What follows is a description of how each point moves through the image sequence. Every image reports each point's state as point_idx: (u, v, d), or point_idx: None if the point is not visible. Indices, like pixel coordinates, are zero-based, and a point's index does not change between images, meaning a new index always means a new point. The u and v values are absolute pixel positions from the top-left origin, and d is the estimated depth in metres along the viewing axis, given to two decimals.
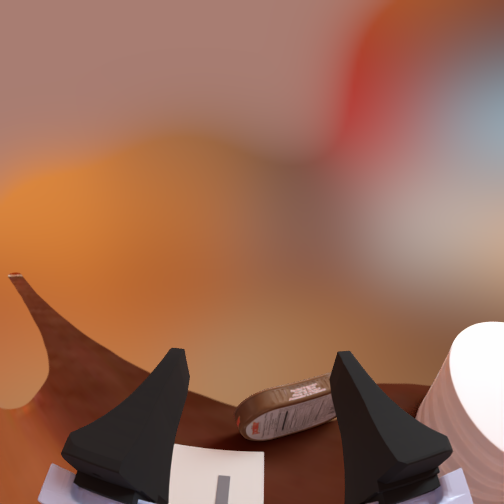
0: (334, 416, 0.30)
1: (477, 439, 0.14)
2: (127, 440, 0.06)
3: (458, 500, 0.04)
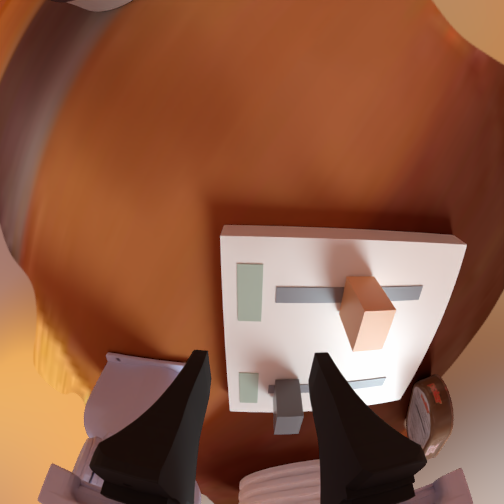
0: (407, 424, 0.28)
1: None
2: (161, 448, 0.06)
3: (458, 500, 0.04)
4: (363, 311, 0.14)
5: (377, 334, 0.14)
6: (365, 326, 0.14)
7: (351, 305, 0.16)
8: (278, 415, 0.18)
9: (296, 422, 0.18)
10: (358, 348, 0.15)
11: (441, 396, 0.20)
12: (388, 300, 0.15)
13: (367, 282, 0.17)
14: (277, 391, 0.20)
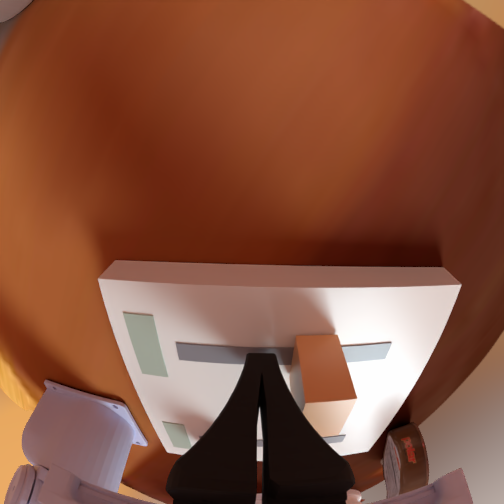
0: (383, 465, 0.23)
1: None
2: (247, 457, 0.06)
3: (458, 500, 0.04)
4: (304, 401, 0.09)
5: (329, 423, 0.10)
6: (308, 417, 0.09)
7: (297, 379, 0.11)
8: None
9: None
10: None
11: (416, 454, 0.15)
12: (349, 380, 0.10)
13: (324, 346, 0.12)
14: None
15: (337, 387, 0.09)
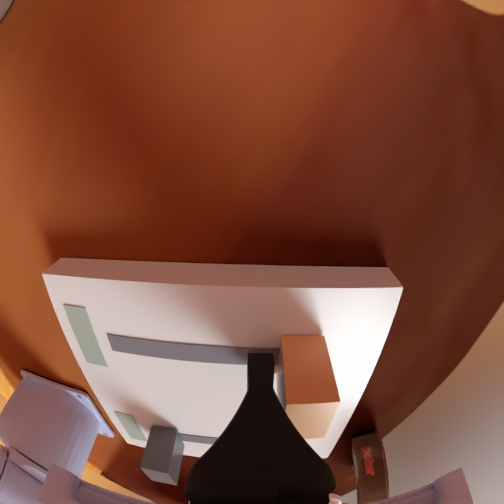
0: (354, 471, 0.23)
1: None
2: (265, 457, 0.06)
3: (458, 500, 0.04)
4: (285, 403, 0.09)
5: (313, 425, 0.09)
6: (291, 418, 0.09)
7: (281, 380, 0.11)
8: (141, 466, 0.13)
9: (165, 476, 0.13)
10: None
11: (375, 466, 0.15)
12: (333, 383, 0.10)
13: (310, 347, 0.12)
14: (149, 439, 0.15)
15: (320, 389, 0.09)
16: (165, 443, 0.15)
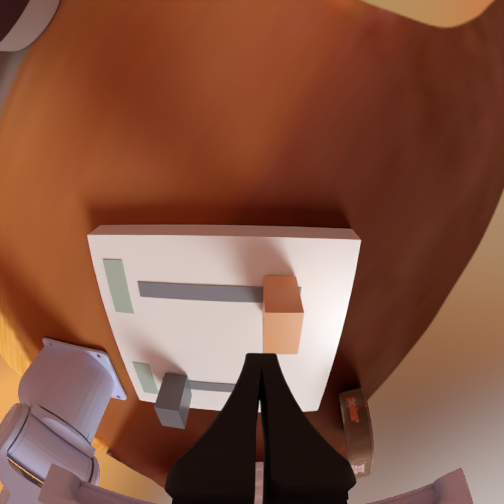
0: None
1: None
2: (246, 457, 0.06)
3: (458, 500, 0.04)
4: (264, 312, 0.14)
5: (287, 338, 0.15)
6: (269, 328, 0.14)
7: None
8: (155, 406, 0.18)
9: (175, 416, 0.19)
10: (268, 351, 0.15)
11: (359, 413, 0.20)
12: (299, 302, 0.15)
13: (284, 282, 0.17)
14: (162, 383, 0.20)
15: (289, 305, 0.14)
16: (176, 386, 0.20)
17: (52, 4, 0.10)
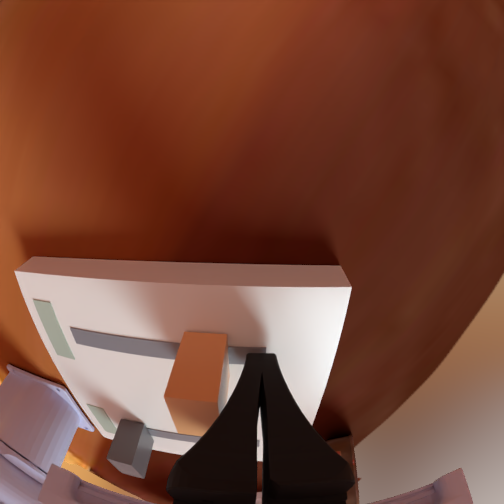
0: None
1: None
2: (247, 457, 0.06)
3: (458, 500, 0.04)
4: (164, 395, 0.09)
5: (202, 423, 0.10)
6: (176, 412, 0.09)
7: None
8: (108, 457, 0.13)
9: (131, 468, 0.13)
10: (184, 432, 0.10)
11: None
12: (216, 382, 0.10)
13: (207, 344, 0.12)
14: (117, 431, 0.15)
15: (201, 387, 0.09)
16: (131, 436, 0.15)
17: None
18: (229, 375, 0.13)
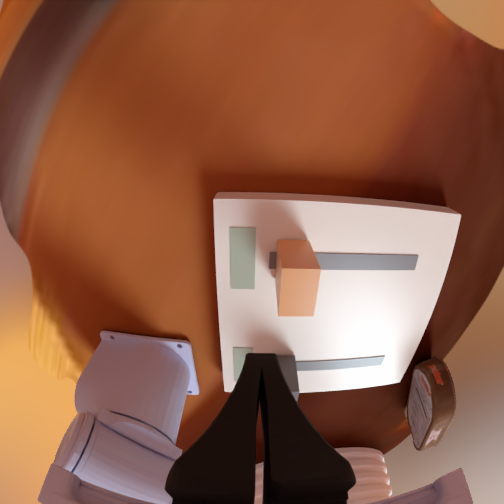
0: (408, 412, 0.28)
1: None
2: (246, 457, 0.06)
3: (458, 500, 0.04)
4: (281, 268, 0.14)
5: (303, 297, 0.15)
6: (286, 286, 0.14)
7: (278, 267, 0.16)
8: None
9: None
10: (284, 313, 0.15)
11: (442, 377, 0.20)
12: (315, 260, 0.15)
13: (298, 245, 0.17)
14: None
15: (306, 262, 0.15)
16: (288, 367, 0.20)
17: None
18: None
